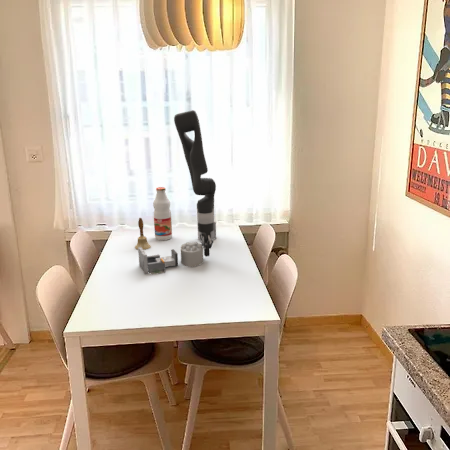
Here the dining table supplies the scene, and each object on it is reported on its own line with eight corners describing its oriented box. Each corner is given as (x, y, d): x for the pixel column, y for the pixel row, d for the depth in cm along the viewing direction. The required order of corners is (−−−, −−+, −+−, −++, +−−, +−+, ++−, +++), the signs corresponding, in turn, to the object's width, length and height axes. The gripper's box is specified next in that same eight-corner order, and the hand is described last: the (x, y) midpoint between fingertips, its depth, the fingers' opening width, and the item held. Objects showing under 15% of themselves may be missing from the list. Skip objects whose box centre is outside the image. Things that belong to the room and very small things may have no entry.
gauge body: (159, 262, 236) (158, 244, 233) (166, 272, 224) (165, 253, 221) (139, 265, 233) (138, 247, 230) (145, 275, 221) (144, 256, 218)
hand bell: (149, 250, 253) (147, 220, 249) (133, 250, 254) (130, 220, 249) (152, 244, 261) (150, 215, 257) (136, 244, 261) (134, 215, 257)
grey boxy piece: (174, 261, 236) (173, 249, 234) (180, 269, 226) (180, 256, 224) (155, 264, 232) (154, 252, 231) (161, 272, 223) (160, 259, 221)
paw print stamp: (203, 256, 242) (202, 240, 239) (202, 266, 229) (202, 249, 227) (182, 257, 242) (181, 240, 239) (180, 267, 229) (179, 249, 227)
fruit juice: (175, 236, 275) (172, 186, 267) (167, 241, 266) (164, 190, 258) (160, 234, 278) (156, 185, 270) (152, 239, 269) (148, 189, 261)
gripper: (218, 223, 228) (219, 259, 233) (208, 216, 239) (209, 250, 244) (202, 225, 225) (204, 261, 230) (193, 218, 237) (195, 252, 242)
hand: (206, 255), depth 237 cm, fingers closed
